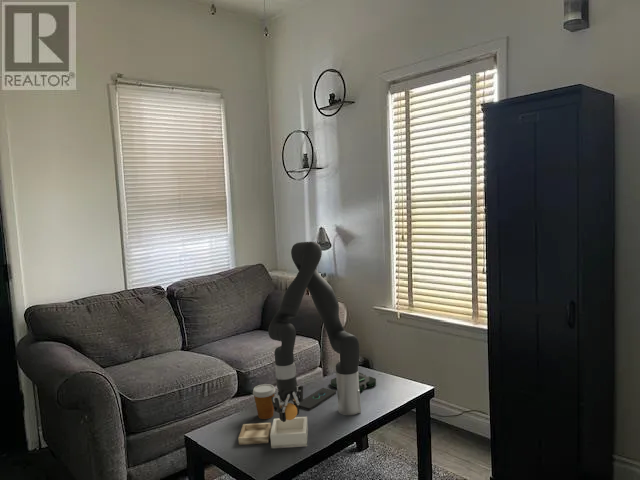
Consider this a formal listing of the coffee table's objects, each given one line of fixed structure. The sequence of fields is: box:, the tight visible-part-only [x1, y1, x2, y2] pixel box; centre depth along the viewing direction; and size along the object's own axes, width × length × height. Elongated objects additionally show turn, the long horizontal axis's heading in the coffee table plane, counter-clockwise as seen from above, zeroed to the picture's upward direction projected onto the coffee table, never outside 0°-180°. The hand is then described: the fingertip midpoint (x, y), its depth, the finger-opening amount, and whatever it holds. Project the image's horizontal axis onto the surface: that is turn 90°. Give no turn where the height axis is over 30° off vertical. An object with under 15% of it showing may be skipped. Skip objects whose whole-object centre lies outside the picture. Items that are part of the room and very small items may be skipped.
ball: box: [285, 402, 298, 420], centre depth 181 cm, size 6×6×6 cm
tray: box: [238, 422, 272, 446], centre depth 185 cm, size 11×11×2 cm
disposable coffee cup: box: [252, 383, 276, 420], centre depth 201 cm, size 10×10×12 cm
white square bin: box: [269, 416, 309, 449], centre depth 182 cm, size 13×13×5 cm
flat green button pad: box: [329, 371, 377, 392], centre depth 228 cm, size 18×18×5 cm
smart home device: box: [299, 387, 337, 411], centre depth 214 cm, size 8×2×20 cm
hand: (289, 417), depth 181 cm, fingers closed on ball, 6 cm apart
